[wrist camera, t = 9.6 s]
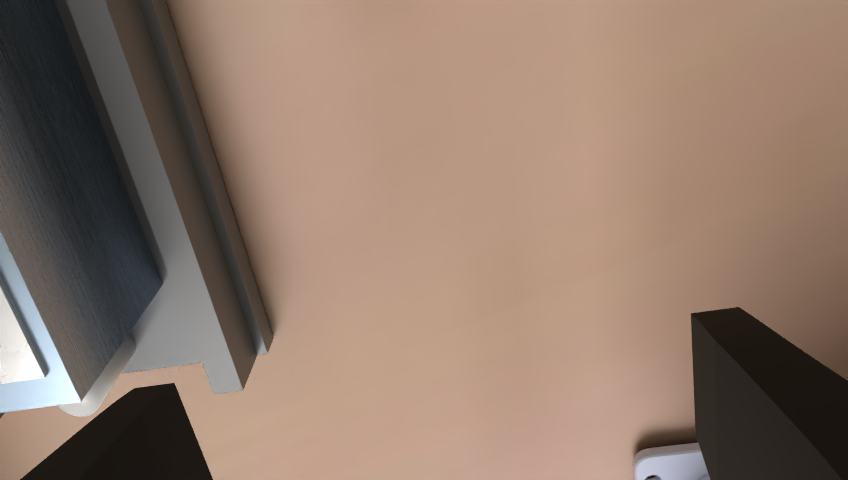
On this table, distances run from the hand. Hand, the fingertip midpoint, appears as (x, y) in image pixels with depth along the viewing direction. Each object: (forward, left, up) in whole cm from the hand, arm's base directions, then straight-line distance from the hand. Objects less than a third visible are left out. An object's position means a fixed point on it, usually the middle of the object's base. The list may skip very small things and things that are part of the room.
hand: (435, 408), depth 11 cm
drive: (+2, +10, -9) cm, 14 cm away
